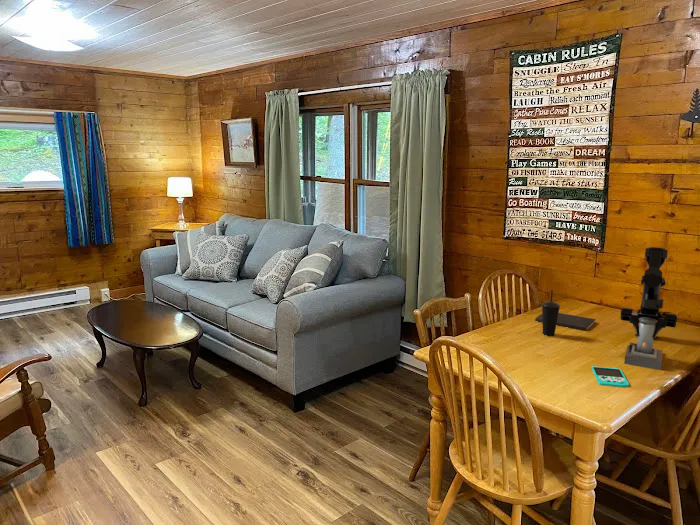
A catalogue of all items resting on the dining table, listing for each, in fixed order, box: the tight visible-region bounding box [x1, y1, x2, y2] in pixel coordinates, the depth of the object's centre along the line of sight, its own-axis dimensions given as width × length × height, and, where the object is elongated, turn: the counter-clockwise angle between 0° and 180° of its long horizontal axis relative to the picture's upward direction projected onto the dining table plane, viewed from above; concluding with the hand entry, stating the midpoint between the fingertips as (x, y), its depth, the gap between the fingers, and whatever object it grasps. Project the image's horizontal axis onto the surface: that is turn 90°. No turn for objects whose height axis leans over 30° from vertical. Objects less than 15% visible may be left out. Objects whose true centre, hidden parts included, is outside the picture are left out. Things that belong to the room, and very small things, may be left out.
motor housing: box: [623, 341, 663, 371], centre depth 208 cm, size 20×12×6 cm, turn 150°
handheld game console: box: [591, 365, 630, 388], centre depth 190 cm, size 10×16×1 cm, turn 165°
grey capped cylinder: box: [636, 317, 656, 354], centre depth 202 cm, size 8×5×13 cm, turn 150°
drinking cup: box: [541, 289, 561, 337], centre depth 234 cm, size 8×8×20 cm
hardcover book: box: [534, 312, 596, 332], centre depth 254 cm, size 16×23×2 cm
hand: (645, 336), depth 202 cm, fingers closed on grey capped cylinder, 5 cm apart
